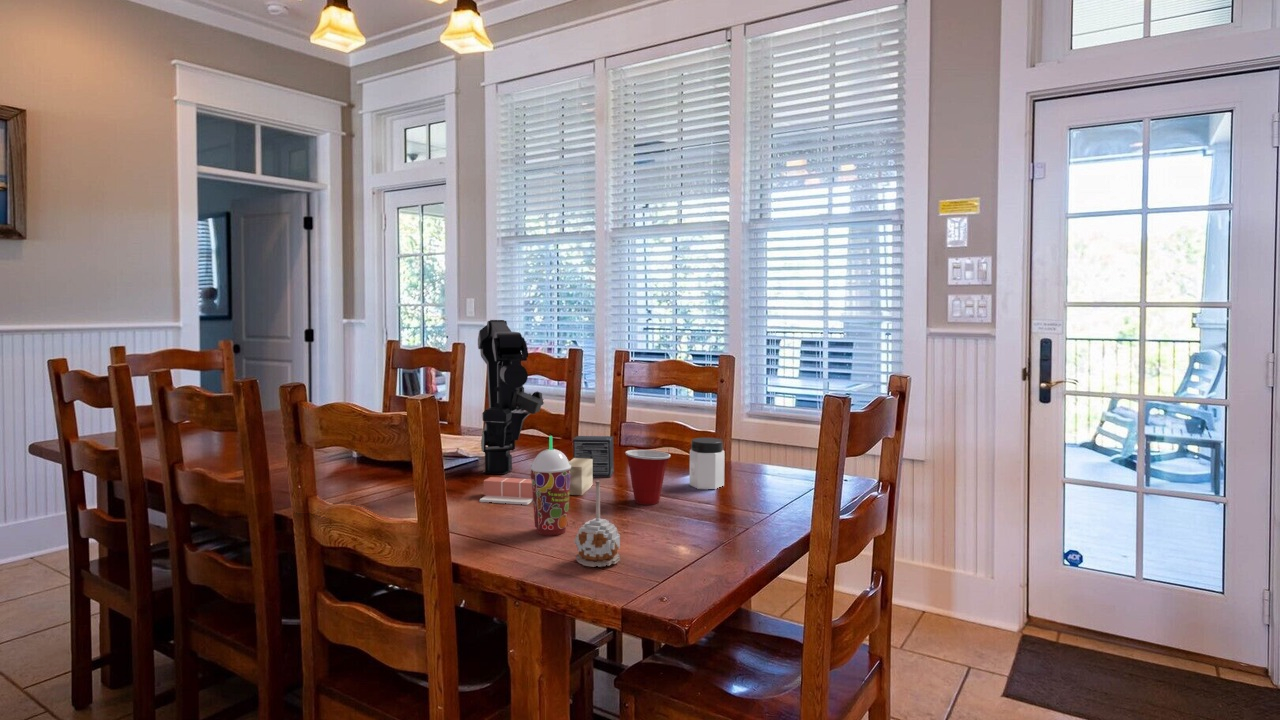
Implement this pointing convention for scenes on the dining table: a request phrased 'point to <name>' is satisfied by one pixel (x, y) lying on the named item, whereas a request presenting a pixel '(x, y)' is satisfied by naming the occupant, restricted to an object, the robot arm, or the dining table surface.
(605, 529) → the caramel apple
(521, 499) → the tile
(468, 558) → the dining table surface
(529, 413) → the robot arm
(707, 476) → the jar
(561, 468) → the smoothie
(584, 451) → the small box
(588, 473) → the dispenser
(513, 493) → the pink striped block
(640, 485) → the plastic cup
